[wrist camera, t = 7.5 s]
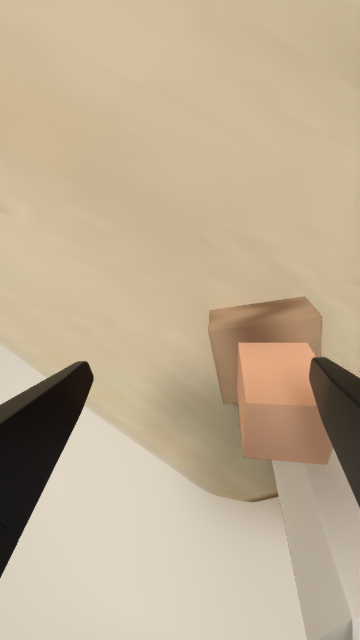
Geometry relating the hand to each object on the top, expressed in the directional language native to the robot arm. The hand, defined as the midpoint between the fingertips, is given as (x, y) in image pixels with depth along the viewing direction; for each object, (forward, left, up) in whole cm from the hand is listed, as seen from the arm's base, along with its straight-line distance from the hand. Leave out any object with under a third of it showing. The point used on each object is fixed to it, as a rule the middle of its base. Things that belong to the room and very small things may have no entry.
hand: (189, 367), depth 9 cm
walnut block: (-5, +7, -12) cm, 15 cm away
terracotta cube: (-5, +7, -8) cm, 12 cm away
